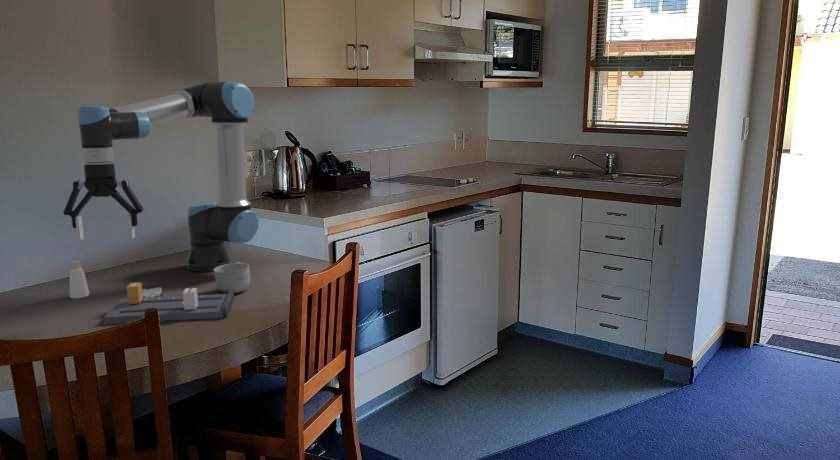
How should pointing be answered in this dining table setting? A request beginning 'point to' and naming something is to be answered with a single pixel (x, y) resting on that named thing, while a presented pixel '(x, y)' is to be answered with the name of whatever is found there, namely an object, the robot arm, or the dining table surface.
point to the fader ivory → (190, 298)
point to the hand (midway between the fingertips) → (106, 238)
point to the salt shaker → (78, 281)
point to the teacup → (232, 277)
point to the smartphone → (152, 292)
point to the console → (172, 308)
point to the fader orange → (134, 293)
